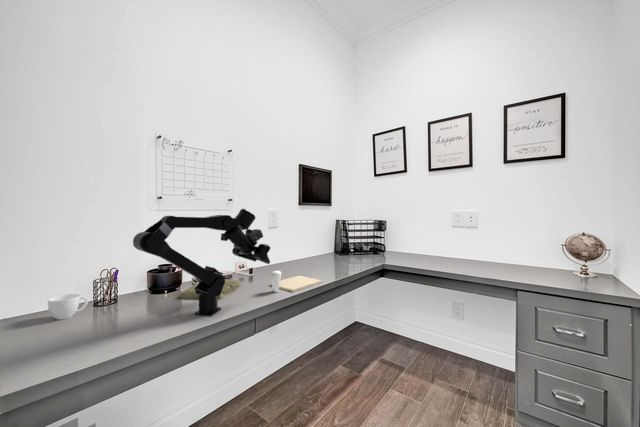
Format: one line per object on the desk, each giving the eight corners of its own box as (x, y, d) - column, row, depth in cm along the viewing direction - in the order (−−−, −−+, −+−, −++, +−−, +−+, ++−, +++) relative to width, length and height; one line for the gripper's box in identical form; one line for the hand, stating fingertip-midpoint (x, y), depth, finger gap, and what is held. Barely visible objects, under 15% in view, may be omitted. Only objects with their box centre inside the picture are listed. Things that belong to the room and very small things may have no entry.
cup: (48, 317, 91) (47, 297, 91) (86, 309, 98) (86, 291, 98) (48, 324, 86) (48, 303, 86) (89, 315, 93) (89, 295, 93)
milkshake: (275, 289, 122) (275, 267, 122) (283, 291, 119) (283, 268, 119) (267, 291, 119) (267, 268, 119) (275, 293, 116) (275, 270, 115)
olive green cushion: (179, 299, 110) (179, 291, 110) (205, 285, 130) (205, 278, 130) (223, 301, 108) (223, 292, 108) (242, 286, 128) (242, 279, 128)
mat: (293, 292, 118) (293, 289, 118) (269, 285, 128) (269, 283, 128) (322, 282, 133) (322, 280, 133) (299, 277, 143) (298, 275, 143)
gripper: (265, 224, 103) (287, 248, 112) (237, 222, 115) (258, 244, 124) (249, 247, 98) (273, 271, 107) (221, 243, 109) (245, 265, 118)
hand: (262, 261), depth 114 cm, fingers open, 8 cm apart
